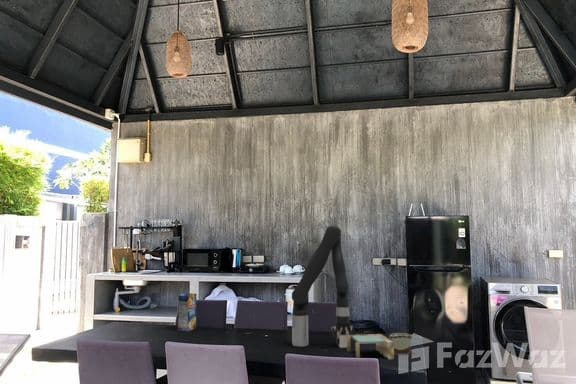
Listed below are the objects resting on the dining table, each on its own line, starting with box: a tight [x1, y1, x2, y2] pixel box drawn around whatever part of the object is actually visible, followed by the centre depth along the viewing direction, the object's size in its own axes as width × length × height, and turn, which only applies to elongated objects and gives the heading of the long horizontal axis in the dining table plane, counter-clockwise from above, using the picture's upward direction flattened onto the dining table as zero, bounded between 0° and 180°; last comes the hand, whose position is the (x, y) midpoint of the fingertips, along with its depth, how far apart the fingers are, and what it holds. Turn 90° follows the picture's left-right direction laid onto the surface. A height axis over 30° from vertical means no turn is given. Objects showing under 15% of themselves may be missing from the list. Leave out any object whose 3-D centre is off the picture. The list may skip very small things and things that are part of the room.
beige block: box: [337, 334, 347, 349], centre depth 248 cm, size 5×5×6 cm
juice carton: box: [177, 292, 197, 333], centre depth 299 cm, size 12×8×24 cm, turn 165°
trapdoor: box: [351, 334, 385, 345], centre depth 230 cm, size 14×14×1 cm
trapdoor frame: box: [346, 333, 395, 360], centre depth 229 cm, size 20×20×8 cm
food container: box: [388, 332, 413, 355], centre depth 233 cm, size 12×6×10 cm, turn 92°
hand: (343, 344), depth 248 cm, fingers closed on beige block, 5 cm apart
